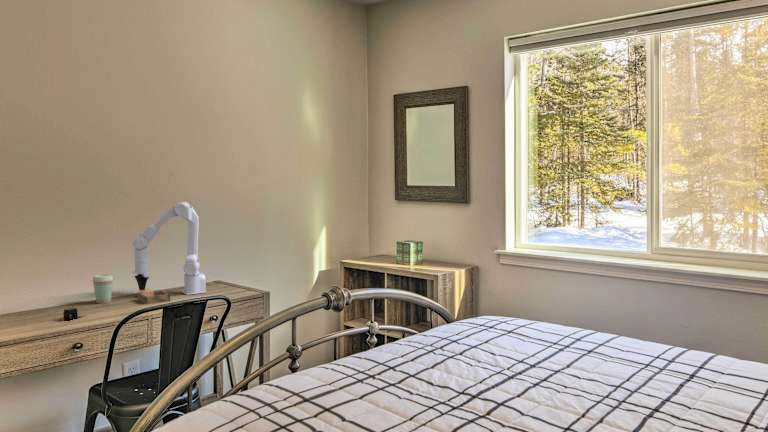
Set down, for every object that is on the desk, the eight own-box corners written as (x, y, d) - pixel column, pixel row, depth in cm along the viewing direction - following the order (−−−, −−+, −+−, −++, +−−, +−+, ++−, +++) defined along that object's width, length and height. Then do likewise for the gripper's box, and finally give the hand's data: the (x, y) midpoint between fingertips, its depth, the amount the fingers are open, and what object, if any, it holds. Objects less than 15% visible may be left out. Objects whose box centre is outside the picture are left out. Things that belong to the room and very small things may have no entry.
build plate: (75, 315, 244) (74, 304, 244) (90, 317, 242) (89, 305, 242) (51, 323, 232) (50, 311, 232) (66, 324, 230) (65, 313, 230)
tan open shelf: (162, 296, 278) (161, 290, 278) (170, 300, 270) (170, 294, 270) (137, 299, 272) (137, 293, 271) (145, 304, 263) (145, 297, 263)
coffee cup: (117, 300, 270) (117, 274, 269) (107, 304, 262) (106, 277, 261) (100, 299, 271) (99, 273, 270) (88, 304, 262) (88, 277, 261)
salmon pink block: (150, 295, 283) (150, 289, 282) (153, 297, 278) (153, 291, 278) (139, 296, 280) (139, 290, 280) (142, 298, 275) (142, 292, 275)
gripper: (128, 260, 286) (128, 288, 287) (137, 264, 275) (138, 293, 276) (143, 259, 290) (143, 286, 291) (152, 263, 279) (153, 291, 280)
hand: (142, 290), depth 284 cm, fingers closed
